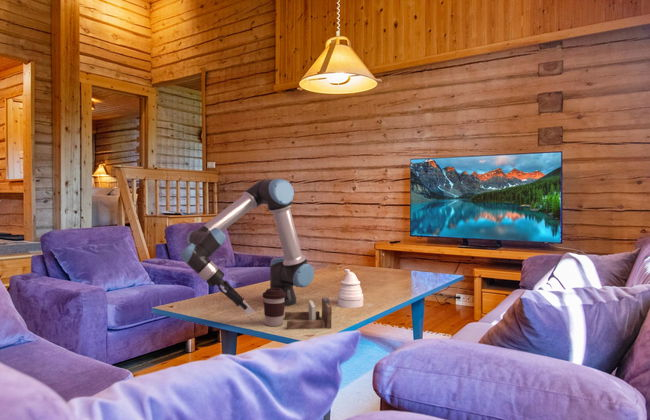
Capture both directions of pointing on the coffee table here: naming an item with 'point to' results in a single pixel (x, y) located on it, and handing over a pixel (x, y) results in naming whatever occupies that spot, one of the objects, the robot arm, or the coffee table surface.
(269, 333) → the coffee table surface
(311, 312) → the catch plate
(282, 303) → the coffee cup
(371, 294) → the coffee table surface
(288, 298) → the robot arm
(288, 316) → the dock
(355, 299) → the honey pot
